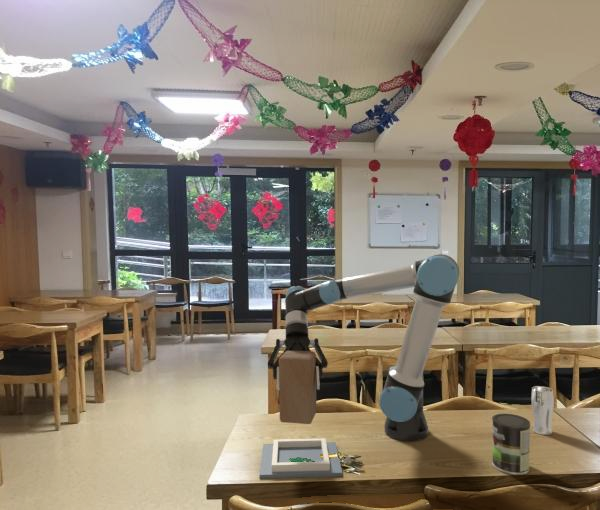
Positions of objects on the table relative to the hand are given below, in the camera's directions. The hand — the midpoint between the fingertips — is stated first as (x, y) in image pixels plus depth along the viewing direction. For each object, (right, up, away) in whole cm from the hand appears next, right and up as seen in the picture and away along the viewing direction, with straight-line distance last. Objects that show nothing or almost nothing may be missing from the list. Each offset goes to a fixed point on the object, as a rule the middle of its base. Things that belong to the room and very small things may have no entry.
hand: (298, 388), depth 140 cm
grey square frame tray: (+1, -23, +3) cm, 24 cm away
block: (0, -10, +3) cm, 11 cm away
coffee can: (+64, -23, -2) cm, 68 cm away
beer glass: (+85, -22, +22) cm, 91 cm away
